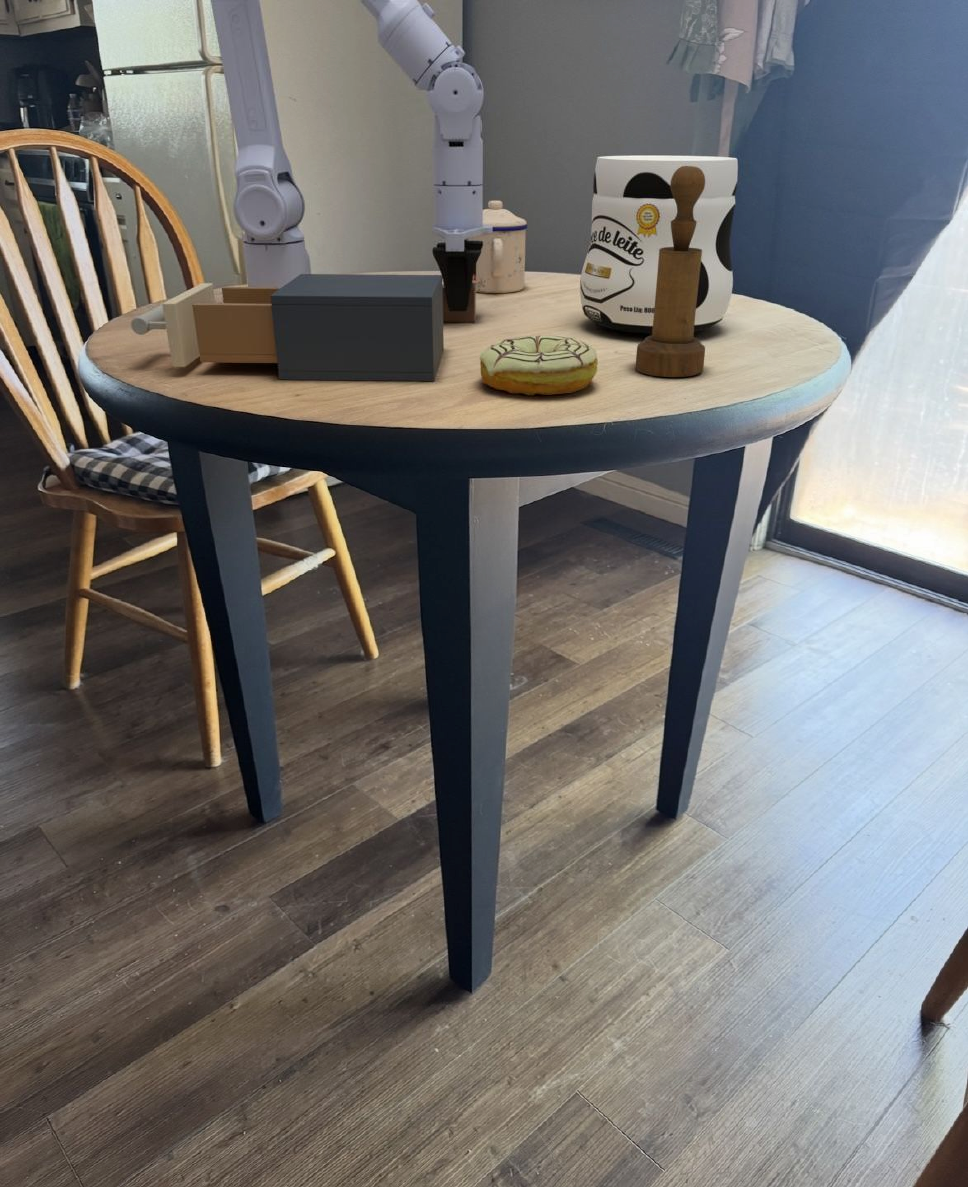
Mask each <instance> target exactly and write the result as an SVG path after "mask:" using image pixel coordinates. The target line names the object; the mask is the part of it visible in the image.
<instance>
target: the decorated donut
mask: <svg viewBox="0 0 968 1187" xmlns="http://www.w3.org/2000/svg"><path fill="white" fill-rule="evenodd" d="M479 360H480V361H479V362H480V376H481V380H482V382H483V384H484V385H488V386H489V387H491V388H493V389H495V390H501V391H505V392H507V393H509V394H523V395H526V396H535V395H536V394H539V395H541V396H553V395H564V394H570V393H571V394H573V393H576V392H577V391H581V390H583V389H585V388H587V387H588V386H589V384H590V383H591V382H592V381H593V379H594V378H595V376H596V374H597V373H598V365H599V364H598V363H599V362H598V361H599V360H598V355H597V352H596V349H595V348H594V347H593V346H591V345H589V344H588V343H586V342H584V341H582V340H578V339H576V338H573V337H567V336H566V337H565V336H558V335H525V336H519V337H513V338H506V339H503V340H501V341H499V342H496V343H493V344H491V345H490V346H488V347H487V348H485V349H484V350H483V351H482V352H480V355H479Z"/></svg>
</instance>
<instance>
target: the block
mask: <svg viewBox="0 0 968 1187" xmlns="http://www.w3.org/2000/svg"><path fill="white" fill-rule="evenodd" d="M442 285H443V323H475V322H476V318H477V292H476V283H471V290H470V297H469V303H468V307H467V311H449V308H448V304H447V299H446V294H445V288H444V283H443V282H442Z"/></svg>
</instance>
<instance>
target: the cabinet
mask: <svg viewBox="0 0 968 1187" xmlns="http://www.w3.org/2000/svg"><path fill="white" fill-rule="evenodd" d="M270 298H271V304H272V305H271V307H272V316H273V326H274V335H275V344H276V353H277V363H276V364H277V370H278V379H279V380H292V381H294V380H299V381H376V382H377V381H378V382H379V381H381V382H386V381H387V382H388V381H390V382H392V381H393V382H435V379H436V376H437V373H438V369H439V367H440V363H441V360H442V356H443V354H444V350H445V348H444V346H445V345H444V344H445V343H444V322H443V279H442V275H441V274H363V273H362V274H361V273H360V274H359V273H358V274H357V273H355V274H353V273H352V274H347V273H345V274H343V273H337V274H336V273H335V274H334V273H332V274H331V273H311V274H300V275H299V276H297V277H296V278H294V279H293V280H292V281H290V282H289V283H287V284H286V285H285V286H283V287H282V288H280V289H279V290H278V291H276V292H275V293H273V294H272V295H270Z"/></svg>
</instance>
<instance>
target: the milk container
mask: <svg viewBox="0 0 968 1187" xmlns="http://www.w3.org/2000/svg"><path fill="white" fill-rule="evenodd" d="M738 162H739V161H738V158H736V157H729V156H728V157H727V156H713V155H711V156H709V155H664V154H663V155H648V154H647V155H644V154H643V155H640V154H639V155H605V156H604V155H603V156H597V159H596V163H595V168H594V174H593V183H592V184H593V185H592V186H593V188H592V189H593V190H592V191H593V196H592V201H591V229H590V230H591V231H590V240H589V246H588V250H587V253H586V256H585V260H584V263H583V266H582V270H581V273H580V278H579V296H580V304H581V308H582V312H583V314H584V316H586V318H588V319H589V320H590V321H591V322H593V323H594V324H595V325H598V326H601V327H604V328H608V329H611V330H614V331H619V332H626V333H632V334H633V333H634V334H643V335H652V331H653V319H654V307H655V296H656V284H657V273H658V260H659V249H660V248H665V247H674V245H673V239H672V232H671V221H672V220H674V219H675V217H676V215H677V205H676V202H675V200H674V197H673V195H672V192H671V188H670V184H671V179H672V176H673V174H674V173H675V171H676V170H677V169H678V168H680V167H682V166H693V167H698V168H700V169H701V170H702V172H703V173H704V176H705V187H704V190H703V192H702V194H701V196H700V197H699V199H698V200H697V202H696V204H695V205H694V208H693V217H694V220H695V221H696V222H697V223H696V228H695V231H694V234H693V237H692V240H691V242H690V245H689V248H697V249H701V250H702V257H701V266H700V274H699V283H698V293H697V302H696V313H695V323H694V332H700V331H703V330H706V329H709V328H712V327H713V326H715V325H717V324H718V323H719V322H721V321H722V320H723V319H724V317H725V315H726V314H727V311H728V308H729V305H730V301H731V298H732V293H733V288H734V287H733V286H734V275H733V274H734V273H733V265H732V258H731V234H732V227H733V221H734V216H735V215H734V214H735V208H736V192H737V188H738V187H737V186H738V172H739V171H738V169H739V164H738Z"/></svg>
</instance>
